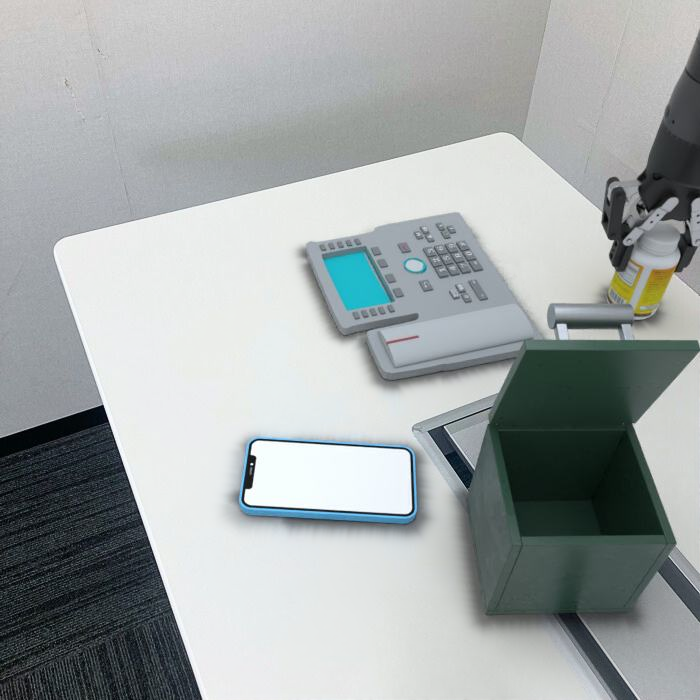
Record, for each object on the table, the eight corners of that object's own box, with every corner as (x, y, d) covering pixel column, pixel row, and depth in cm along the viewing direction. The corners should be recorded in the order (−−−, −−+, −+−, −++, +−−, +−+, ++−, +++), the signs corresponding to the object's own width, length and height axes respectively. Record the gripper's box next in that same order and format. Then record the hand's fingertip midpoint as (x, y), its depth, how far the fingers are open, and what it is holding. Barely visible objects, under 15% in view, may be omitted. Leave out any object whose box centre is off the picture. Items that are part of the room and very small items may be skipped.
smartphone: (417, 519, 63) (237, 508, 63) (415, 526, 64) (238, 516, 63) (414, 446, 68) (248, 436, 68) (412, 454, 69) (248, 444, 69)
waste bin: (628, 612, 59) (677, 543, 51) (485, 614, 58) (512, 545, 51) (594, 498, 66) (632, 422, 58) (466, 499, 66) (487, 423, 58)
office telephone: (552, 335, 77) (366, 375, 72) (546, 352, 79) (364, 392, 74) (460, 202, 91) (301, 228, 87) (456, 219, 93) (301, 246, 88)
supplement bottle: (660, 299, 85) (694, 225, 77) (648, 329, 81) (682, 255, 74) (612, 282, 87) (640, 208, 79) (598, 310, 83) (626, 236, 76)
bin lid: (701, 350, 48) (682, 286, 51) (526, 350, 48) (515, 285, 50) (635, 423, 58) (622, 366, 60) (489, 424, 57) (481, 366, 60)
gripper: (641, 144, 65) (588, 290, 77) (802, 147, 66) (724, 291, 78) (617, 100, 70) (570, 244, 82) (766, 104, 71) (699, 245, 83)
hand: (646, 266), depth 80 cm, fingers closed on supplement bottle, 5 cm apart
